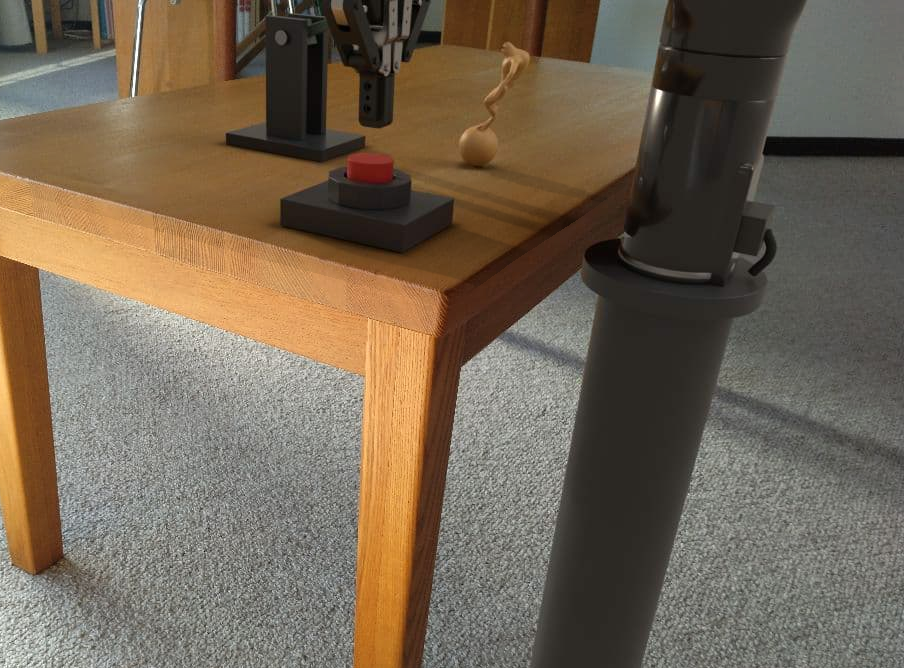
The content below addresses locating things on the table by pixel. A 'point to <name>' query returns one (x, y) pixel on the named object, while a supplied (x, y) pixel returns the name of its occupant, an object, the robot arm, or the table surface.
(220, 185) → the table surface
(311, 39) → the lever
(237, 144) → the bracket
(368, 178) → the button
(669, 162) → the robot arm
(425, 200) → the button block
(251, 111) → the table surface
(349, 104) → the table surface
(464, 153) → the figurine
